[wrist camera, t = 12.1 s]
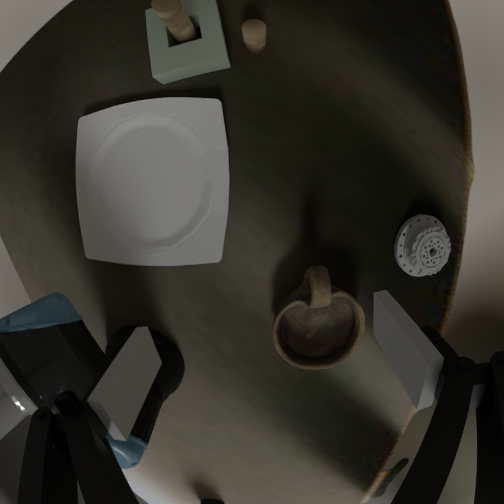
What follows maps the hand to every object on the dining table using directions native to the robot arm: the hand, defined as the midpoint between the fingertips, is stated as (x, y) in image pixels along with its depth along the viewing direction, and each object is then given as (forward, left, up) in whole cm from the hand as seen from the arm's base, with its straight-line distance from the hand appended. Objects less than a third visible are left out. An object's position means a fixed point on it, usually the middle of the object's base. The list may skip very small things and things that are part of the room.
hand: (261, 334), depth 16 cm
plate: (-15, +10, -27) cm, 33 cm away
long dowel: (-5, +30, -27) cm, 40 cm away
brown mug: (+6, -13, -27) cm, 31 cm away
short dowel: (+4, +27, -27) cm, 38 cm away
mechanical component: (+25, -6, -27) cm, 37 cm away
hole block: (-5, +30, -27) cm, 40 cm away
